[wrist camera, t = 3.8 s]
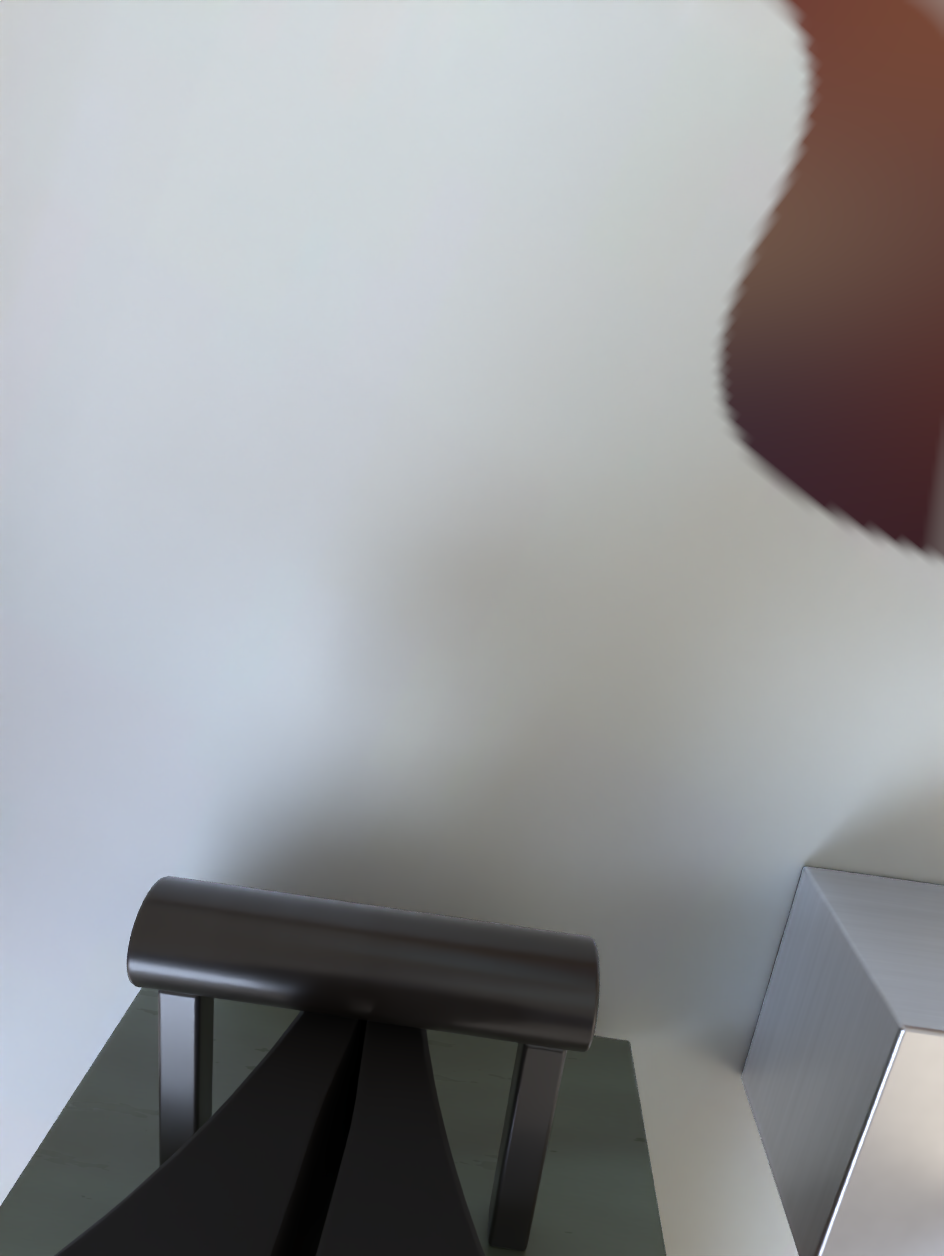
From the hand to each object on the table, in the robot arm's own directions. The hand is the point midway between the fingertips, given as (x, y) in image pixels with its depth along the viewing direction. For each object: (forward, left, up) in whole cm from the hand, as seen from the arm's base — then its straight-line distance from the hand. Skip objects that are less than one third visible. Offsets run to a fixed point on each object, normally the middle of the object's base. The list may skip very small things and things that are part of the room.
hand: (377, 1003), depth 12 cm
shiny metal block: (+6, +8, -3) cm, 11 cm away
